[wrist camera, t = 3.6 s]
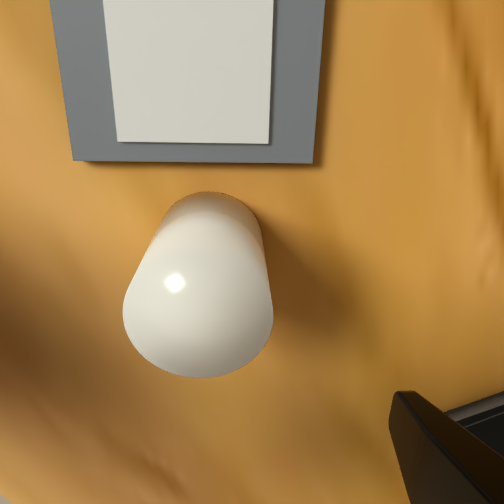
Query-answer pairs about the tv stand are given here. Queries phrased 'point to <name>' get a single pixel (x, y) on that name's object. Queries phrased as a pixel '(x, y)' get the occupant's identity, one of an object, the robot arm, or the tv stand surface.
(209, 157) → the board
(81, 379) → the tv stand surface
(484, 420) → the phone
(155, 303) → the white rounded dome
